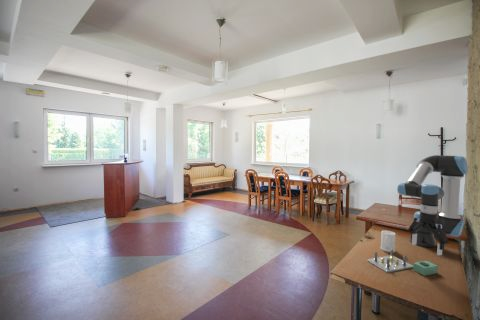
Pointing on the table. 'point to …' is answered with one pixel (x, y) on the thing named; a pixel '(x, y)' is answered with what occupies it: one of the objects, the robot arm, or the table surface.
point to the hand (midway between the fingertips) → (426, 249)
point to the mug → (387, 241)
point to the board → (425, 268)
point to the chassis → (390, 262)
